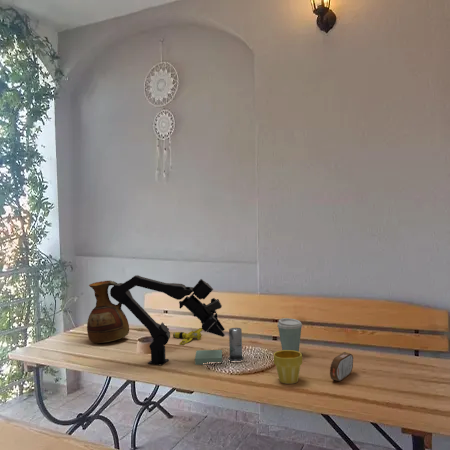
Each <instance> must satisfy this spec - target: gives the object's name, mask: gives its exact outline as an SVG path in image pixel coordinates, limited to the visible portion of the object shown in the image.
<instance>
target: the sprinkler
mask: <svg viewBox="0 0 450 450" xmlns="http://www.w3.org/2000/svg"><path fill="white" fill-rule="evenodd" d="M202 331H203V329H202V327H199V328H198V329H196V330H191V331H189V332H188V333H187V332H182V331H178V332H177V331H176V332H173V333H172V337H173V338H175V339H182V340H181V341H180V342H179V346H184V345H186V344H188V343H190V342H192V340H194V339H195V340H197V341H200V340H201V339H202V333H201V332H202Z"/></svg>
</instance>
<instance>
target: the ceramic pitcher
mask: <svg viewBox="0 0 450 450" xmlns="http://www.w3.org/2000/svg"><path fill="white" fill-rule="evenodd" d="M116 284H118V282H116V281H114V280H113V281H112V280H103V281H102V280H101V281H96V282H93V283H90V284H89V285H88V286H89V287H90V288H91V289H92V290H93V291H94V297H95V300H96V302H95V306H94V308H93V309H91V312H90V313H89V316H88V318H87V322H86V323H87V325H86V331H87V335H88V336H87V337H88V340H89V341H90V342H92V343H97V344H100V343H101V344H102V343H109V342H113V341H114V342H115V341H117V340H120V339H123V338H124V337H127V336H128V335H129V333H130V324H129V320H128V318H127V315H126V314H125V312H124V311H123V309H122V306H123V304H121V303H119V302H118V303H117V304H115V303H113V302H112V301H111V299H110V296H109V287H111V286H112V287H113V286H115V285H116Z"/></svg>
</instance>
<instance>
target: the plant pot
mask: <svg viewBox="0 0 450 450" xmlns="http://www.w3.org/2000/svg"><path fill="white" fill-rule="evenodd" d="M272 358H273V364H274V365H275V366H276V367H275V368H276V372H277V375H278V380H279V383H282V384H286V385H291V384H296V383H298V381H299V377H300V376H299V375H300V371H301V370H300V369H301V365H302V364H303V354H302V352H300V351H299V352H298V351H294V350H282V349H280V350H278V351H275V352H274V353H273V357H272Z"/></svg>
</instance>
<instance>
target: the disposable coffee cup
mask: <svg viewBox="0 0 450 450" xmlns="http://www.w3.org/2000/svg"><path fill="white" fill-rule="evenodd" d="M302 327H303V323H302V322H301V321H300V320H298V319H294V318H289V317H288V318H287V317H285V318H280V319H278V321H277V329H278V332H279V339H280V345H281V350H294V351H298V352H300V345H301V344H300V343H301V336H302Z"/></svg>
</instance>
